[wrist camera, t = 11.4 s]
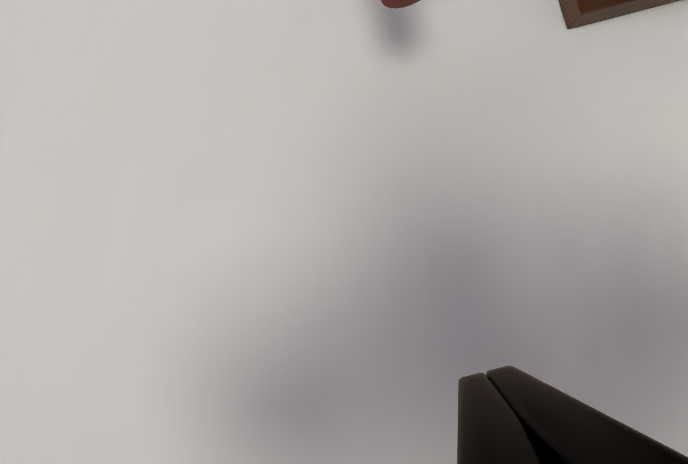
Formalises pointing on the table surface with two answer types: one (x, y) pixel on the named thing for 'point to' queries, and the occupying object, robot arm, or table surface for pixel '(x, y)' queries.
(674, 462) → the robot arm
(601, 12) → the rod bracket
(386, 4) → the crank
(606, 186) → the table surface
